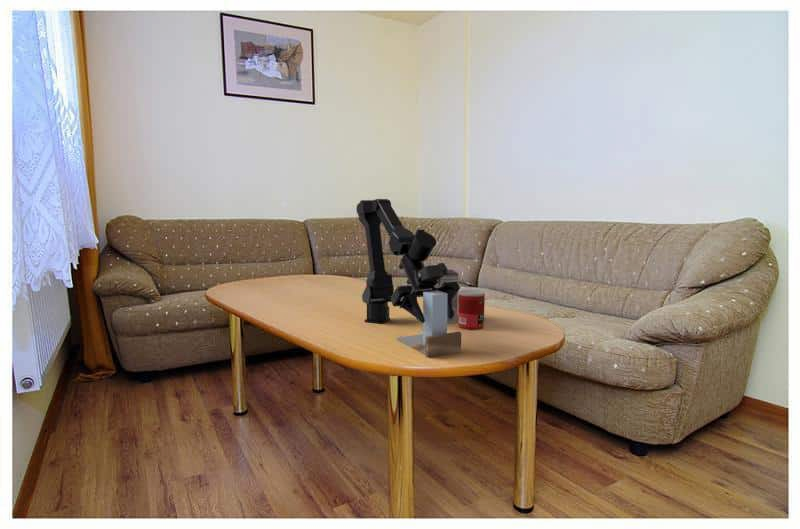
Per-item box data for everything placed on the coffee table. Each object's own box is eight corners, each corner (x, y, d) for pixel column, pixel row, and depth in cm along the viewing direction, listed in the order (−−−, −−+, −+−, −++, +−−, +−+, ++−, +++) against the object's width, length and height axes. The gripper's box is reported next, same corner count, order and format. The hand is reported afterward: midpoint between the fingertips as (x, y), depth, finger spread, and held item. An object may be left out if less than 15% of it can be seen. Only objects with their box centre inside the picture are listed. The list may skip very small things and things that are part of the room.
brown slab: (410, 348, 123) (410, 329, 123) (442, 342, 128) (442, 325, 127) (427, 357, 116) (428, 337, 115) (461, 351, 120) (461, 332, 120)
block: (422, 348, 123) (423, 292, 121) (437, 346, 125) (437, 290, 123) (432, 353, 119) (432, 295, 117) (446, 350, 121) (447, 293, 119)
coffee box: (433, 316, 158) (434, 269, 156) (452, 316, 159) (453, 269, 157) (438, 323, 149) (438, 273, 147) (458, 322, 150) (458, 272, 148)
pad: (396, 339, 132) (396, 337, 131) (423, 335, 136) (423, 333, 136) (412, 347, 124) (412, 346, 124) (440, 343, 128) (440, 341, 128)
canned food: (483, 330, 140) (484, 294, 139) (456, 329, 142) (457, 293, 141) (484, 324, 148) (485, 290, 146) (458, 323, 149) (459, 289, 148)
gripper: (395, 254, 118) (417, 306, 110) (456, 251, 127) (481, 298, 119) (382, 281, 126) (401, 331, 118) (440, 276, 135) (462, 322, 127)
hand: (437, 320), depth 120 cm, fingers open, 8 cm apart
